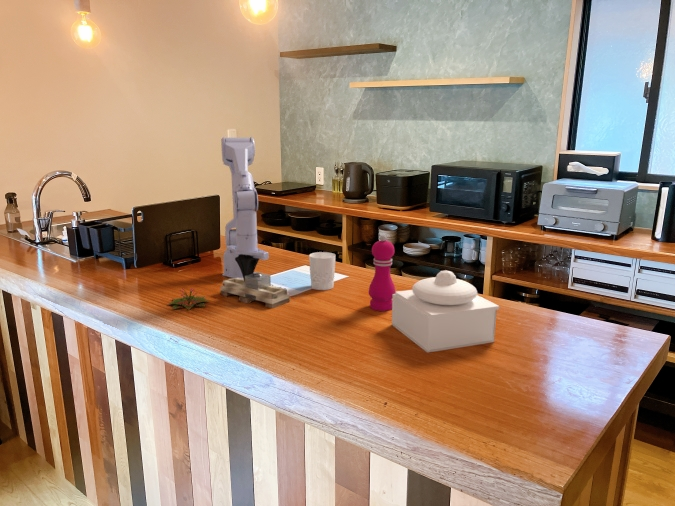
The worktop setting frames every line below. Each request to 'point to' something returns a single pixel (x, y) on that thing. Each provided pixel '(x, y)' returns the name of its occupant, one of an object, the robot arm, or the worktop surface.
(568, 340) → the worktop surface
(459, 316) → the butter dish
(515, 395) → the worktop surface
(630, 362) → the worktop surface
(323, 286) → the white cup
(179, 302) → the green leafy spiky piece
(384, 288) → the pepper mill
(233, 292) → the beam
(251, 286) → the block
